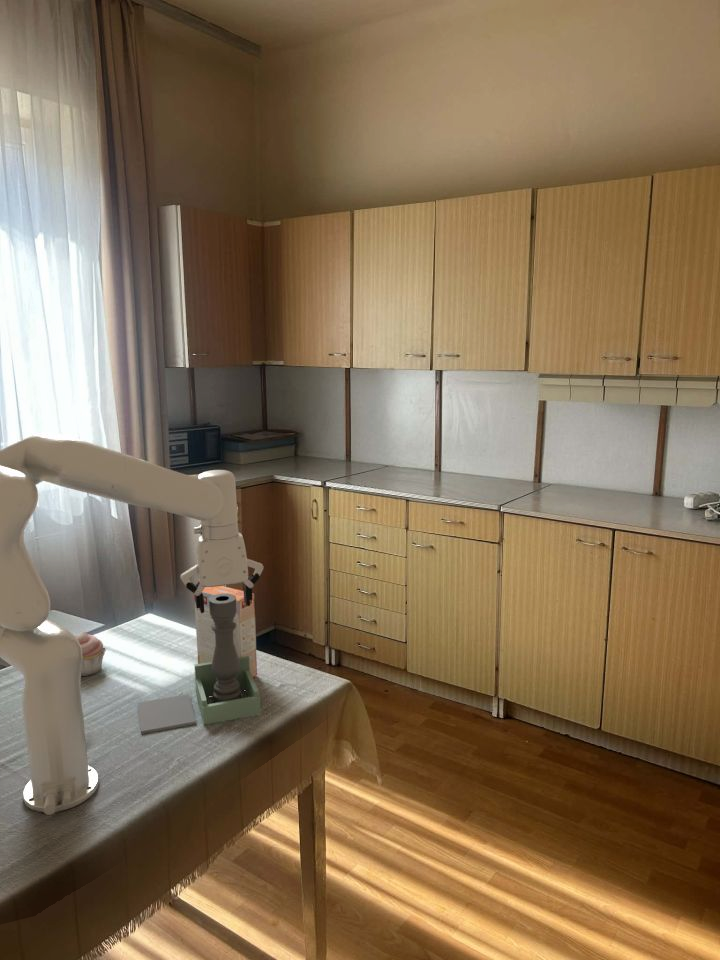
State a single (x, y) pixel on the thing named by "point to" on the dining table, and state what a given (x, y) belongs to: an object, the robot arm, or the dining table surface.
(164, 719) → the slate mat
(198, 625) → the cracker box
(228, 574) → the robot arm
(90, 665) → the cupcake
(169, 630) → the dining table surface
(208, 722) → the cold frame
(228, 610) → the candle holder
